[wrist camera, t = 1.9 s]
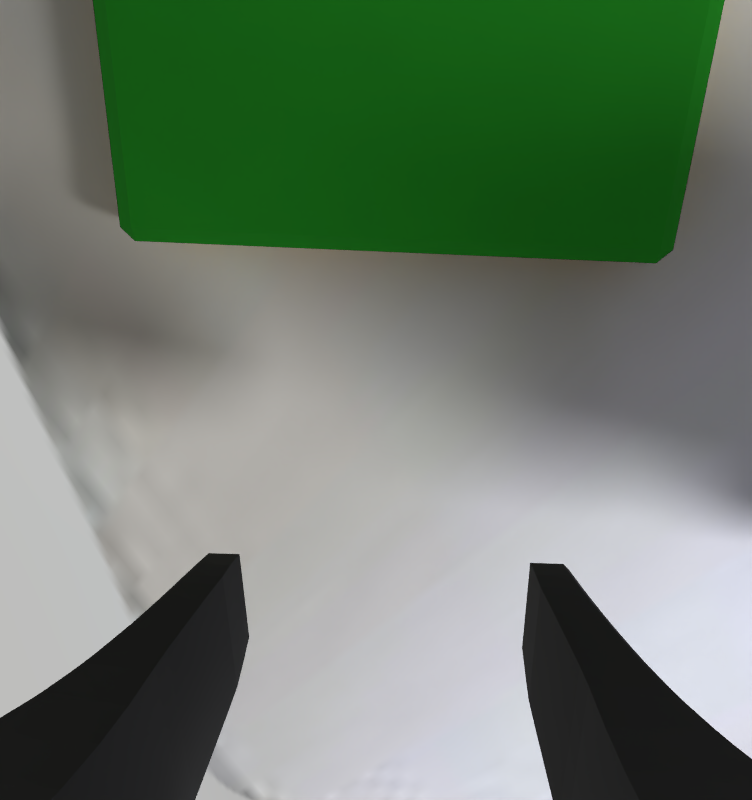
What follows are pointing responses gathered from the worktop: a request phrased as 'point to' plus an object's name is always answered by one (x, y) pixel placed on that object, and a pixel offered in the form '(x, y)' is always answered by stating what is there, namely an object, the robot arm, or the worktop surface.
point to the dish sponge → (407, 123)
